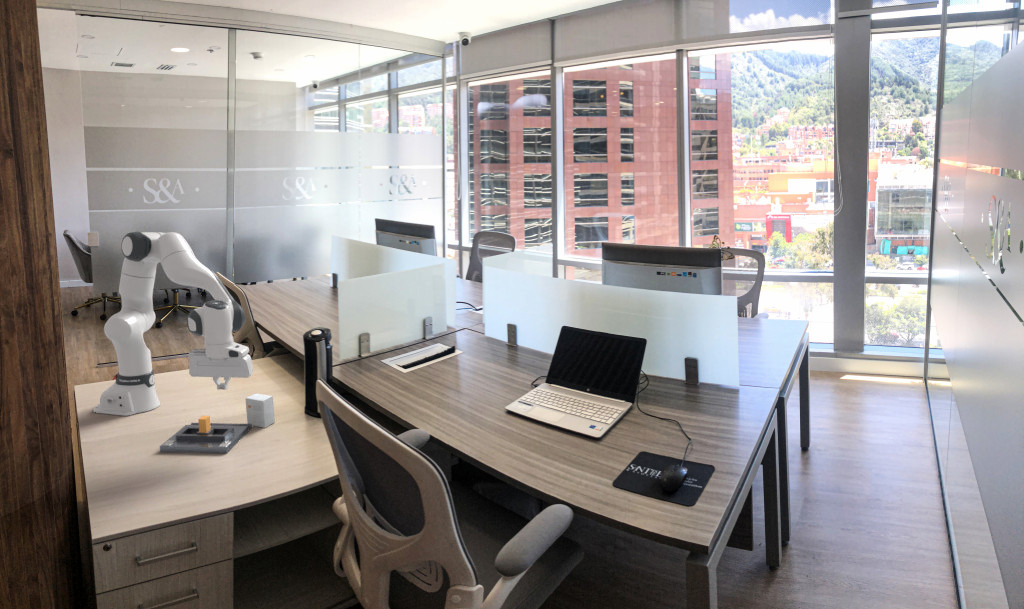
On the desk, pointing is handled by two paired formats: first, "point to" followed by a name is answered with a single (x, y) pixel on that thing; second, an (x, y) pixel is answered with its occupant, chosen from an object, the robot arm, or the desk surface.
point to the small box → (260, 410)
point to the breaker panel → (204, 439)
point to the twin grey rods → (227, 424)
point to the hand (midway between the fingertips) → (222, 389)
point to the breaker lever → (205, 426)
